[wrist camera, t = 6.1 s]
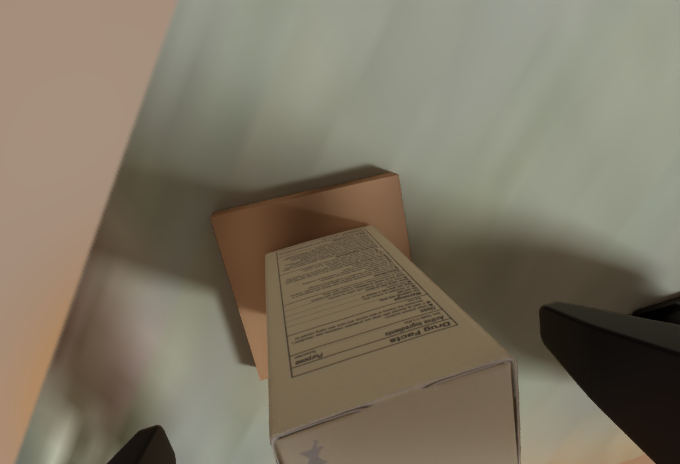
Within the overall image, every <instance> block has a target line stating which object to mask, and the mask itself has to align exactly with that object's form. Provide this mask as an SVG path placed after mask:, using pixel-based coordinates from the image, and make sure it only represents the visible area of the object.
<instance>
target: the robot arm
mask: <svg viewBox="0 0 680 464" xmlns="http://www.w3.org/2000/svg"><path fill="white" fill-rule="evenodd" d="M539 318H540V334H541V339H542V341H543V343H544V345H545V346H546V347H547V348H548V350H549V351H550V352H551V353H552V354H553V356H554V357H555V358H556V359H557V360H558V361H559V363H560V364H561V365H562V366H563V367H564V369H565V370H566V371H567V372H568V373H569V375H570V376H571V377H572V378H573V379H574V380H575V382H576V383H577V384H578V385H579V386H580V388H581V389H582V390H583V391H584V392H585V393H586V394H587V395H588V397H589V398H590V399H591V400H592V401H593V402H594V403H595V404H596V405H597V406H598V407H599V408H600V409H601V410H602V411H603V412H604V413H605V414H606V415H607V416H608V417H609V418H610V419H611V420H612V421H613V422H614V423H615V424H616V425H617V426H618V427H619V428H620V429H621V430H622V431H623V432H624V433H625V434H626V435H627V436H628V437H629V438H630V439H631V440H632V441H633V442H634V443H635V444H636V445H637V446H638V447H639V448H640V449H641V450H642V451H643V452H644V453H645V454H646V455H647V456H648V457H649V458H650V459H652V460H653V461H654V462H655V463H656V464H680V298H677V299H674V300H671V301H667V302H664V303H661V304H657V305H654V306H651V307H647V308H644V309H641V310H638V311H636V312H635V313H634V314H633V315H632V316H630V315H625V314H620V313H614V312H609V311H604V310H599V309H594V308H589V307H584V306H579V305H574V304H568V303H563V302H552V303H549V304H546V305H543V306H541V307H540V310H539ZM107 464H176V458H175V453H174V451H173V449H172V446H171V444H170V442H169V440H168V438H167V435H166V433H165V431H164V429H163V428H162V427H161V426H160V425H155V426H152V427H148V428H145V429H142V430H140V431H138V432H137V433H136V434H135V435H134V436H133V437H132V438H131V439H130V440H129V441H128V442H127V444H126V445H125V446H124V447H123V448H122V449H121V450H120V451H119V452H118V453H117V454H116V455H115V456H114V457H113V458H112V459H111V460H110V461H109V462H108V463H107Z"/></svg>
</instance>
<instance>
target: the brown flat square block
mask: <svg viewBox="0 0 680 464" xmlns="http://www.w3.org/2000/svg"><path fill="white" fill-rule="evenodd" d="M210 219H211V222H212V226H213V229H214V232H215V235H216V239H217V242H218V245H219V248H220V251H221V255H222V258H223V261H224V264H225V268H226V271H227V274H228V277H229V281H230V284H231V287H232V290H233V293H234V297H235V300H236V303H237V306H238V310H239V313H240V316H241V319H242V323H243V326H244V329H245V332H246V335H247V339H248V342H249V345H250V348H251V352H252V355H253V358H254V361H255V365H256V368H257V371H258V374H259V377H260V381H261V380H264V379H268V354H267V322H266V284H265V255H266V254H268V253H271V252H274V251H277V250H280V249H284V248H287V247H290V246H294V245H297V244H300V243H304V242H307V241H311V240H315V239H318V238H322V237H325V236H329V235H333V234H337V233H340V232H344V231H348V230H352V229H356V228H361V227H365V226H370V225H372V226H374V227H375V228H376V229H377V230H378V231H379V232H381V233H382V234H383V235H384V236H385V237H386V238H387V239H388V240H389V241H390V242H391V243H392V244H393V245H394V246H395V247H396V248H397V249H399V250H400V251H401V252H402V253H403V254H404V255H405V256H406V257H407V258H408V259H409V260H410V261H411V254H410V248H409V241H408V234H407V228H406V221H405V214H404V207H403V201H402V194H401V187H400V181H399V175H398V174H396V173H393V172H389V173H385V174H380V175H376V176H371V177H367V178H363V179H358V180H354V181H349V182H345V183H340V184H336V185H332V186H327V187H323V188H318V189H314V190H310V191H305V192H301V193H296V194H292V195H287V196H283V197H279V198H274V199H270V200H265V201H261V202H257V203H252V204H248V205H243V206H239V207H234V208H230V209H226V210H221V211H217V212H213V214H212V215H211V217H210ZM411 262H412V261H411Z"/></svg>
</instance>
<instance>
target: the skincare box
mask: <svg viewBox="0 0 680 464" xmlns="http://www.w3.org/2000/svg"><path fill="white" fill-rule="evenodd" d="M265 284H266V322H267V354H268V388H269V435H270V444H271V446H272V449H273V452H274V455H275V458H276V462H277V464H521V460H520V458H521V445H520V416H519V388H518V368H517V361H516V359H515V358H514V357H513V356H512V355H511V354H510V353H509V352H508V351H506V350H505V349H504V348H503V347H502V346H501V345H500V344H499V343H498V342H497V341H496V340H495V339H494V338H492V337H491V336H490V335H489V334H488V333H487V332H486V331H485V330H484V329H483V328H482V327H481V326H480V325H479V324H478V323H476V322H475V321H474V320H473V319H472V318H471V317H470V316H469V315H468V314H467V313H466V312H465V311H464V310H462V309H461V308H460V307H459V306H458V305H457V304H456V303H455V302H454V301H453V300H452V299H451V298H450V297H449V296H448V295H446V294H445V293H444V292H443V291H442V290H441V289H440V288H439V287H438V286H437V285H436V284H435V283H434V282H433V281H432V280H430V279H429V278H428V277H427V276H426V275H425V274H424V273H423V272H422V271H421V270H420V269H419V268H418V267H417V266H416V265H415V264H413V263H412V262H411V261H410V260H409V259H408V258H407V257H406V256H405V255H404V254H403V253H402V252H401V251H400V250H399V249H397V248H396V247H395V246H394V245H393V244H392V243H391V242H390V241H389V240H388V239H387V238H386V237H385V236H384V235H383V234H382V233H381V232H379V231H378V230H377V229H376V228H375V227H374V226H372V225H370V226H365V227H361V228H356V229H352V230H348V231H344V232H340V233H337V234H333V235H329V236H325V237H322V238H318V239H315V240H311V241H307V242H304V243H300V244H297V245H294V246H290V247H287V248H284V249H280V250H277V251H274V252H271V253H268V254H266V255H265Z"/></svg>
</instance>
